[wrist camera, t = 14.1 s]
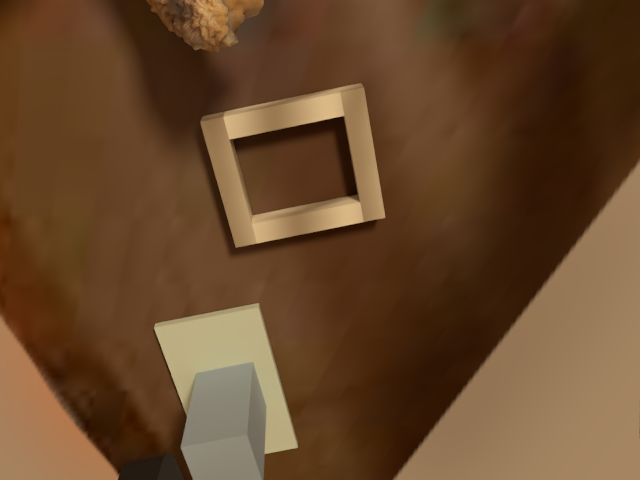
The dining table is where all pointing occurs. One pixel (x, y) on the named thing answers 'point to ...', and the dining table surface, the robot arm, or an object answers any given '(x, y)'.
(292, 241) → the dining table surface
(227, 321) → the tile
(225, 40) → the lion figurine
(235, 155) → the pocket frame
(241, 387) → the block
